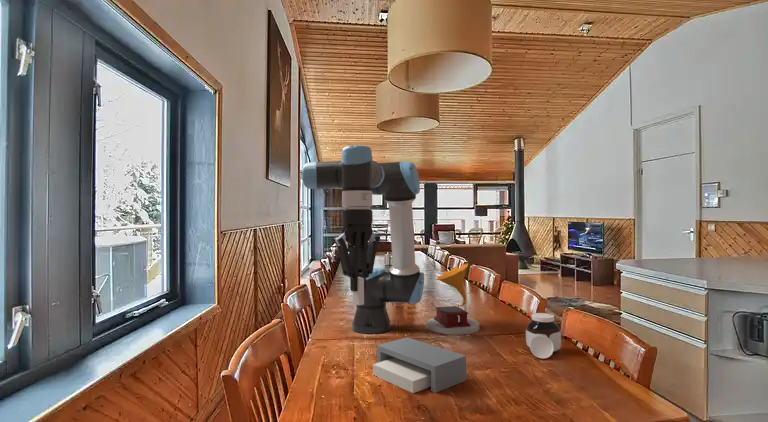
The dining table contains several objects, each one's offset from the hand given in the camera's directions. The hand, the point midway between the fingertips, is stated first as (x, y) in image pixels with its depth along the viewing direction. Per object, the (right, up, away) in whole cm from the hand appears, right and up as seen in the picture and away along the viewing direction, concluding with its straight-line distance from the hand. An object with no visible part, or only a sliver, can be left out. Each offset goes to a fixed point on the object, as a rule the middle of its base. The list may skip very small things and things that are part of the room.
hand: (358, 303), depth 104 cm
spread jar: (+57, -22, +29) cm, 67 cm away
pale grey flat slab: (+12, -22, +10) cm, 27 cm away
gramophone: (+33, -23, +61) cm, 74 cm away
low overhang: (+16, -22, +13) cm, 31 cm away
